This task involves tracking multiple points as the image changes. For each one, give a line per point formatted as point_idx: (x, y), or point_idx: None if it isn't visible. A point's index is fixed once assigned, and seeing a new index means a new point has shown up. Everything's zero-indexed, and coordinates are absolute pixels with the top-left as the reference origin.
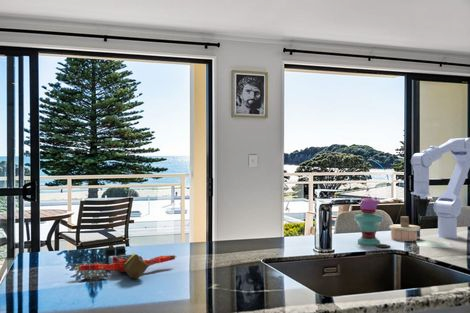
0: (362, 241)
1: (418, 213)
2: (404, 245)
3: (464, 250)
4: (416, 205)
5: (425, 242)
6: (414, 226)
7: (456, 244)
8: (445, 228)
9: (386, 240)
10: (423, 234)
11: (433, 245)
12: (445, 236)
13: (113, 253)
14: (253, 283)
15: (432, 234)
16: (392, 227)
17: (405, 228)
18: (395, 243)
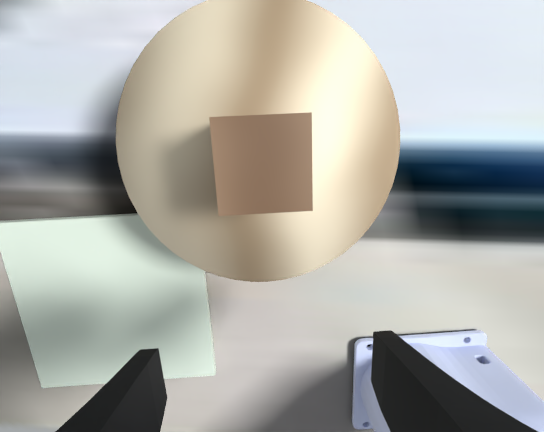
0: None
1: (375, 341)
2: (31, 139)
3: (39, 423)
4: (440, 411)
5: (149, 268)
6: (283, 238)
7: (196, 403)
8: (382, 419)
9: (184, 5)
10: (495, 265)
11: (62, 305)
12: (364, 377)
13: None
14: None
15: (500, 312)
16: (164, 27)
17: (127, 159)
18: (81, 77)
